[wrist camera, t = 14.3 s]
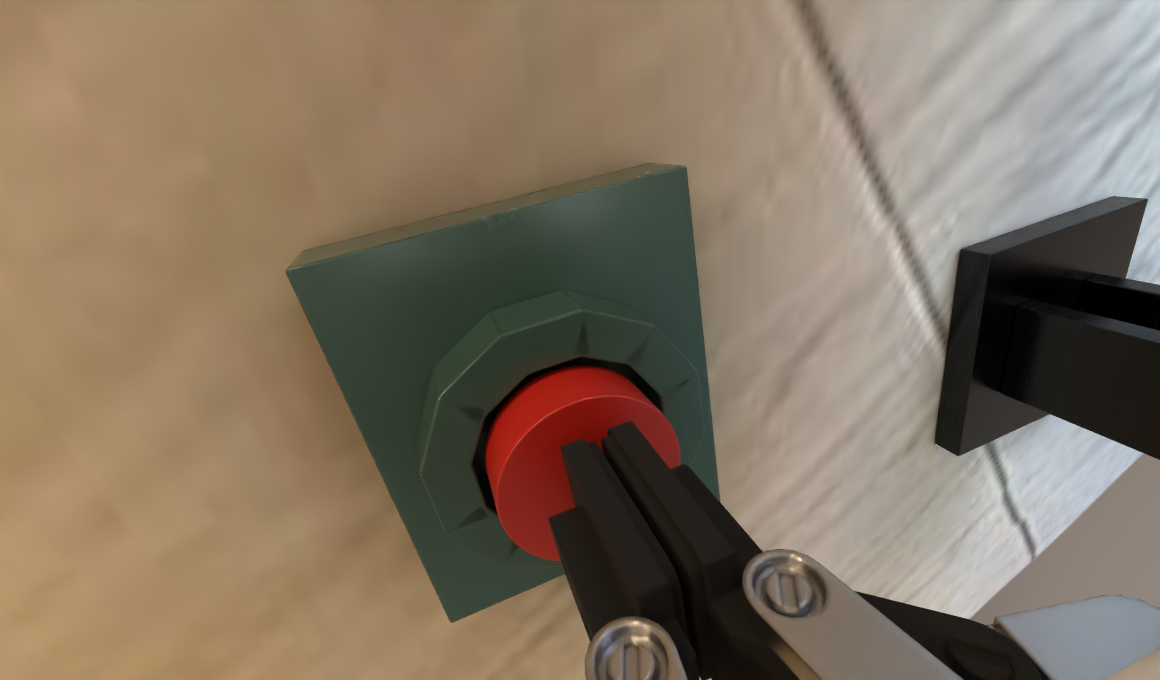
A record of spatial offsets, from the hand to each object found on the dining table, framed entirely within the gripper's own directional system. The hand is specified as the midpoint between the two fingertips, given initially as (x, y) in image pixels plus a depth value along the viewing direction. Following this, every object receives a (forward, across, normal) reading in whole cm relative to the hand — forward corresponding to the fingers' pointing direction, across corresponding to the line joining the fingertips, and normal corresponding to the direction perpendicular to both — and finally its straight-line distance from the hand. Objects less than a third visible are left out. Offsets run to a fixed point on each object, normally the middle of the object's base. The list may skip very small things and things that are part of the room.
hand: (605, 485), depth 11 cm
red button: (+2, 0, 0) cm, 2 cm away
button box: (+6, 0, 0) cm, 6 cm away
